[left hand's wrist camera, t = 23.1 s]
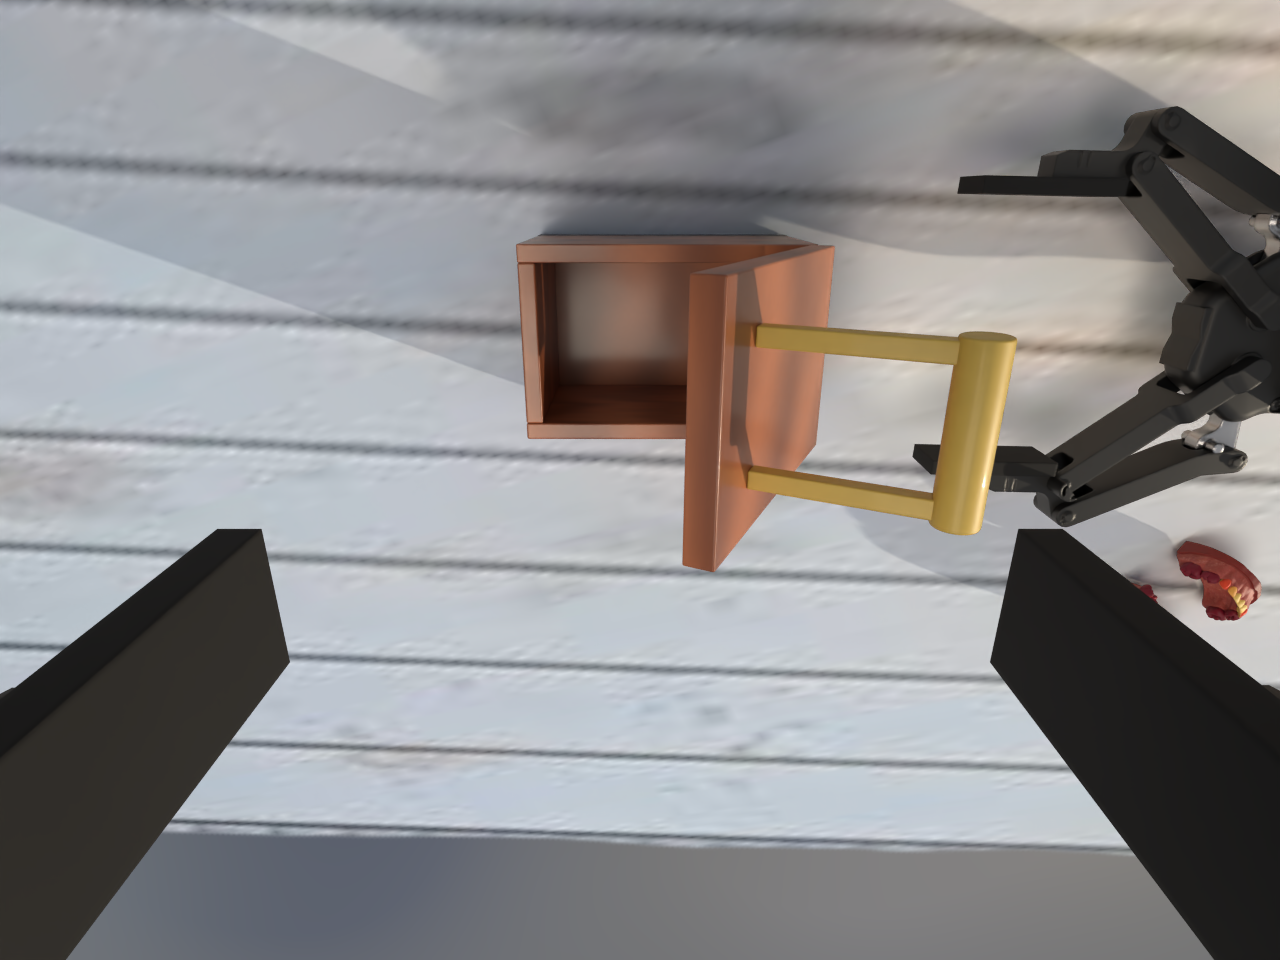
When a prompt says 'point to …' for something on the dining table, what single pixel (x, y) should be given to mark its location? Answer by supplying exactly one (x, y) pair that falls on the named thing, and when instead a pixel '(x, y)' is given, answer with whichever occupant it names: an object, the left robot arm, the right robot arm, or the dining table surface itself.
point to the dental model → (1217, 581)
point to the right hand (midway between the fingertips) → (944, 331)
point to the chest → (615, 328)
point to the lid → (813, 403)
